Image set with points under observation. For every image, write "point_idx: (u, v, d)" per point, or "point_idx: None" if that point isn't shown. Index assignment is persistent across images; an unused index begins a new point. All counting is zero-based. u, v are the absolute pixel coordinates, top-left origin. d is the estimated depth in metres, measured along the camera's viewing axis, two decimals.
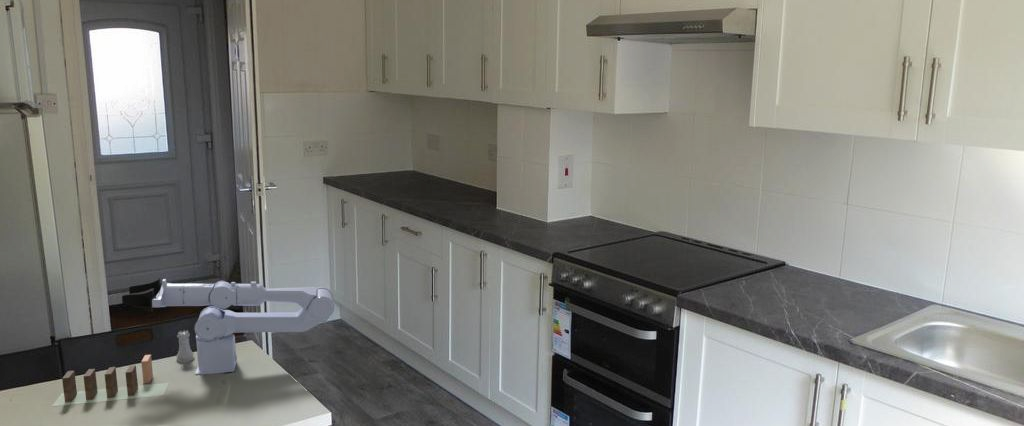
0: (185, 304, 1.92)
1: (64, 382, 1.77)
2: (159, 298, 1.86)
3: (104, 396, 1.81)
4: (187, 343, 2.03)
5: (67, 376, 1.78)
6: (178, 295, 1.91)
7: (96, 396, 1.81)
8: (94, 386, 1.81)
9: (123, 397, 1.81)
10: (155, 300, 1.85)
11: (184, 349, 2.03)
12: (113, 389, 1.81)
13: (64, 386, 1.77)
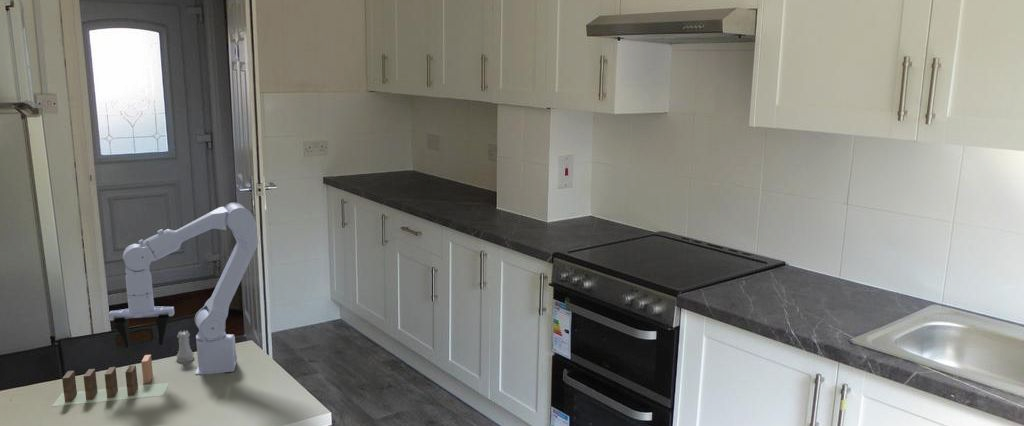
0: (149, 291, 1.86)
1: (64, 382, 1.77)
2: (169, 310, 1.89)
3: (104, 396, 1.81)
4: (187, 343, 2.03)
5: (67, 376, 1.78)
6: (151, 296, 1.87)
7: (96, 396, 1.81)
8: (94, 386, 1.81)
9: (123, 397, 1.81)
10: (172, 312, 1.89)
11: (184, 349, 2.03)
12: (113, 389, 1.81)
13: (64, 386, 1.77)
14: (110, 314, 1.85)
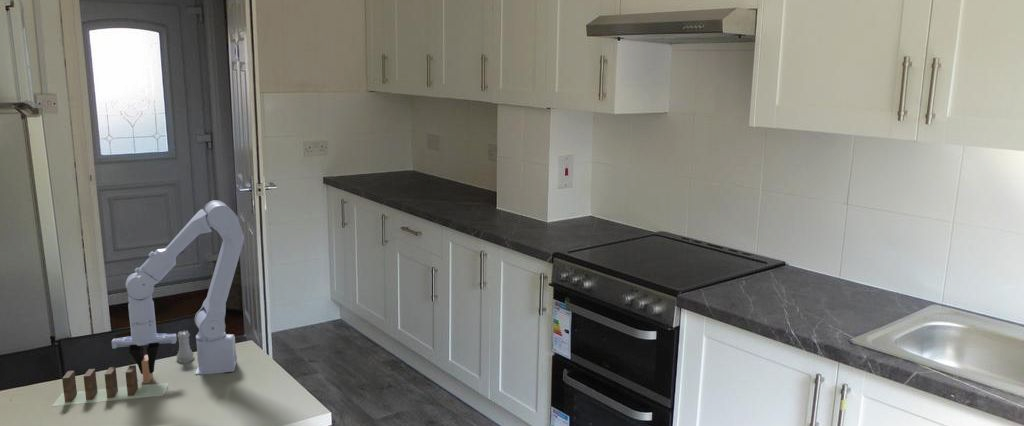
0: (151, 319, 1.88)
1: (64, 382, 1.77)
2: (171, 337, 1.90)
3: (104, 396, 1.81)
4: (187, 343, 2.03)
5: (67, 376, 1.78)
6: (154, 324, 1.89)
7: (96, 396, 1.81)
8: (94, 386, 1.81)
9: (123, 397, 1.81)
10: (175, 340, 1.91)
11: (184, 349, 2.03)
12: (113, 389, 1.81)
13: (64, 386, 1.77)
14: (113, 342, 1.87)
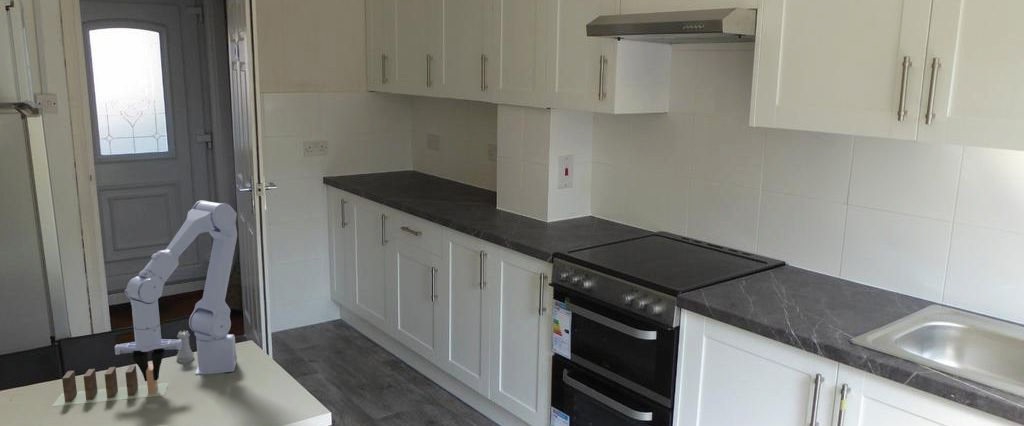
0: (159, 322, 1.82)
1: (64, 382, 1.77)
2: (176, 343, 1.83)
3: (104, 396, 1.81)
4: (187, 343, 2.03)
5: (67, 376, 1.78)
6: (159, 329, 1.82)
7: (96, 396, 1.81)
8: (94, 386, 1.81)
9: (123, 397, 1.81)
10: (180, 346, 1.84)
11: (184, 349, 2.03)
12: (113, 389, 1.81)
13: (64, 386, 1.77)
14: (116, 348, 1.80)
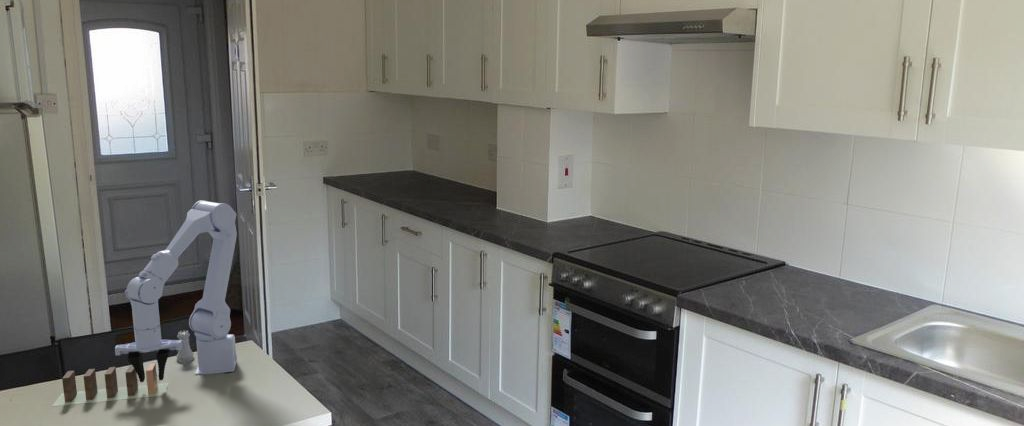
0: (159, 323, 1.82)
1: (64, 382, 1.77)
2: (176, 344, 1.83)
3: (104, 396, 1.81)
4: (187, 343, 2.03)
5: (67, 376, 1.78)
6: (159, 330, 1.82)
7: (96, 396, 1.81)
8: (94, 386, 1.81)
9: (123, 397, 1.81)
10: (180, 346, 1.84)
11: (184, 349, 2.03)
12: (113, 389, 1.81)
13: (64, 386, 1.77)
14: (116, 349, 1.80)
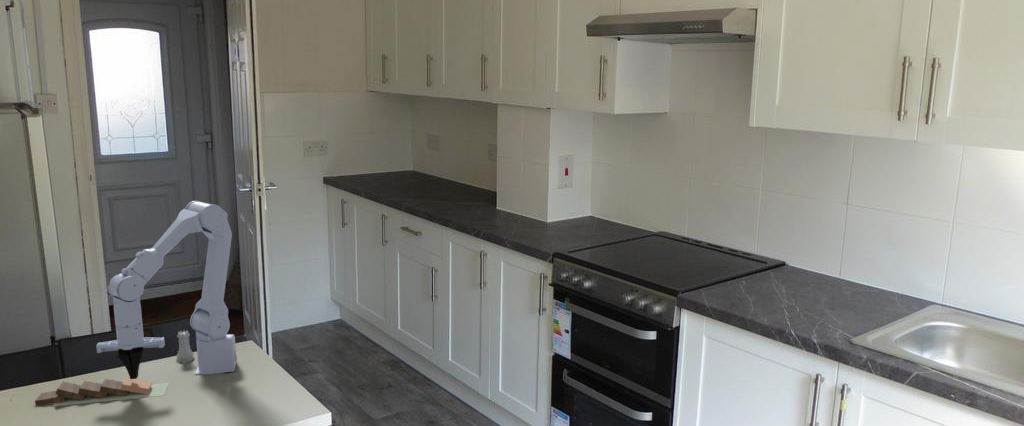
0: (141, 321, 1.81)
1: (40, 404, 1.77)
2: (159, 341, 1.82)
3: None
4: (187, 343, 2.03)
5: None
6: (141, 327, 1.81)
7: None
8: (77, 388, 1.81)
9: (123, 397, 1.81)
10: (162, 344, 1.83)
11: (184, 349, 2.03)
12: (99, 390, 1.80)
13: (45, 403, 1.77)
14: (98, 346, 1.79)
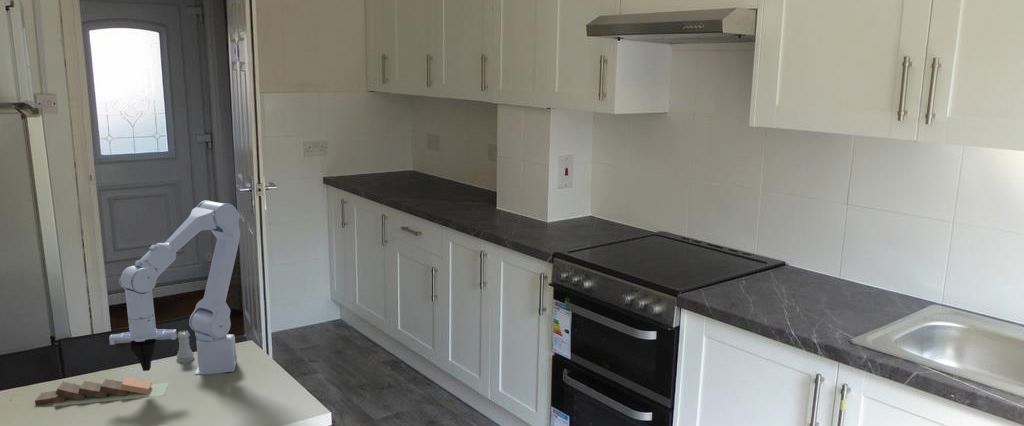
0: (153, 312, 1.81)
1: (40, 403, 1.77)
2: (171, 333, 1.83)
3: None
4: (187, 343, 2.03)
5: None
6: (153, 319, 1.81)
7: None
8: (77, 388, 1.81)
9: (123, 397, 1.81)
10: (175, 336, 1.83)
11: (184, 349, 2.03)
12: (99, 390, 1.80)
13: (45, 403, 1.77)
14: (111, 338, 1.79)
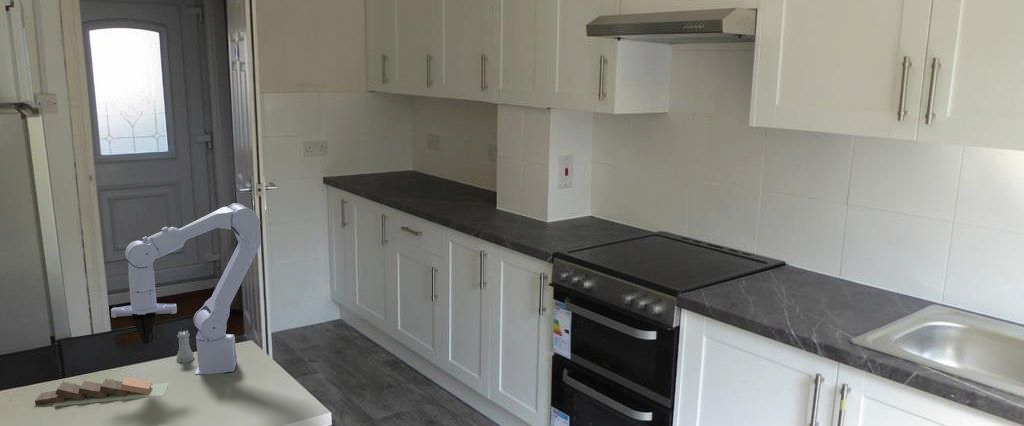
0: (152, 288, 1.86)
1: (40, 403, 1.77)
2: (171, 307, 1.88)
3: None
4: (187, 343, 2.03)
5: None
6: (154, 293, 1.86)
7: None
8: (77, 388, 1.81)
9: (123, 397, 1.81)
10: (175, 310, 1.88)
11: (184, 349, 2.03)
12: (99, 390, 1.80)
13: (45, 403, 1.77)
14: (112, 311, 1.84)
